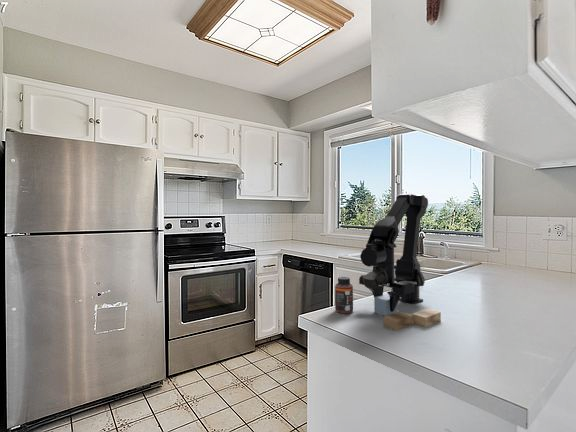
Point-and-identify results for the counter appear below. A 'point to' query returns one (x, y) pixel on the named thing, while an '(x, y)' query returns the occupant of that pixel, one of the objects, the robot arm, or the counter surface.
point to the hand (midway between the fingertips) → (385, 309)
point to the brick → (427, 317)
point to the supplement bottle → (344, 295)
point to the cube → (383, 305)
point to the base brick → (398, 320)
